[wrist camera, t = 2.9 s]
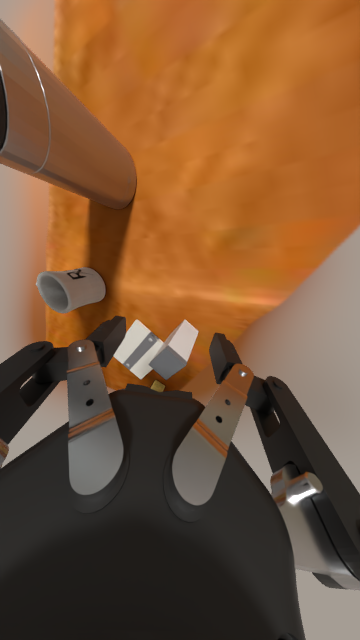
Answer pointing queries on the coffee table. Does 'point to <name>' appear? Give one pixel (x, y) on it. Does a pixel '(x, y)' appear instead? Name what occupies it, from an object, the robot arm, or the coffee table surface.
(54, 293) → the mug
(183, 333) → the grey two-tone block
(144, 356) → the floor panel
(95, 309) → the coffee table surface
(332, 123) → the coffee table surface
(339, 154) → the coffee table surface
